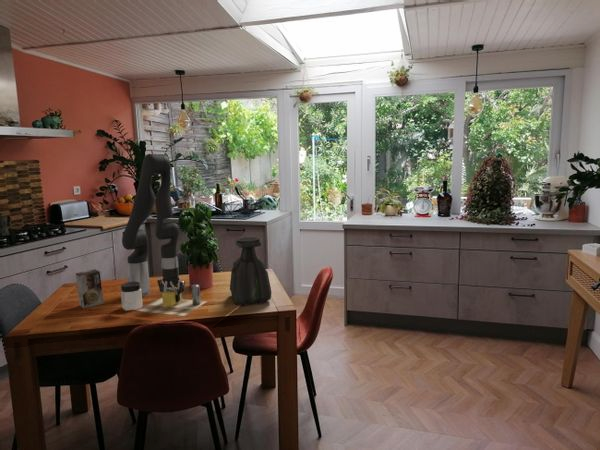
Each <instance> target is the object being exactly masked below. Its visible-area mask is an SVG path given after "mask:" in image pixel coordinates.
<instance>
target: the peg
mask: <svg viewBox="0 0 600 450" xmlns="http://www.w3.org/2000/svg"><path fill="white" fill-rule="evenodd" d="M190 286H191V300H192V303H193V305H194V306H196V305H200V304H201V303H200V301H201V290H200V288H201V287H200V284H192V285H190Z"/></svg>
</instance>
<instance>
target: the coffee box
mask: <svg viewBox="0 0 600 450" xmlns="http://www.w3.org/2000/svg"><path fill="white" fill-rule="evenodd" d="M75 278H76V284H77V285H76V286H77V292H78V293H77V294H78V300H79V301H78V303H79V306H80V307H82V308H83V309H86V308H87V309H88V308H90V307H95V306H98V305H99V306H100V305H102V304H104V295H103V288H102V280H101V279H102V278H101V271H99V270H98V269H96V268H95V269H94V268H93V269H91V270H86V271H80V272H76V273H75Z"/></svg>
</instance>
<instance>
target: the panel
mask: <svg viewBox="0 0 600 450" xmlns="http://www.w3.org/2000/svg"><path fill="white" fill-rule="evenodd" d="M200 303H201V304H200V305H196V306H194V305H193V303H192V299H185V298H182V301H181V302H179V303H177V304H175V305H174V306H164V305H163V299H162V297H160V298H159V299H156V300H154V301H152V302H151V303H148V304H147V305H145V306H142V307H140V308H139V309H137V310H136V312H142V313H143V312H144V313H153V314H154V313H155V314H163V315H171V316H180V317H182V316H183V317H186V316H187V315H188V314H190V313H192V312H194V311H195V310H196V309H198V308H200V307H202V306H203V305H204V304H206V303H207V301H205V300H200Z"/></svg>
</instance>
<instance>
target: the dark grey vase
mask: <svg viewBox="0 0 600 450" xmlns="http://www.w3.org/2000/svg"><path fill="white" fill-rule="evenodd" d="M235 244H236V245H237V247H238V249H239V248H240V249H241V252H240V256H238V257H237V259H235V261H234V262H233V264H232V268H231V271H230V282H229V283H230V284H229V290H230V293H231V297H232V300H233V302H234V304H235V305H239V306H240V307H242V306H244V307H245V306H252V305H260V304H266V303H267V302H268V301H270V300H271V298H272V287H271V282H270V277H269V272H268V271H267V269H266V264H265V263H264V261H263V260H262V259H261V258H259V257H258V255H257V253H256V249H255V248H257V247H261V246H262V241H260V237H256V236H243V237H239V238H238V237H237V238H236V239H235Z"/></svg>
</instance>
